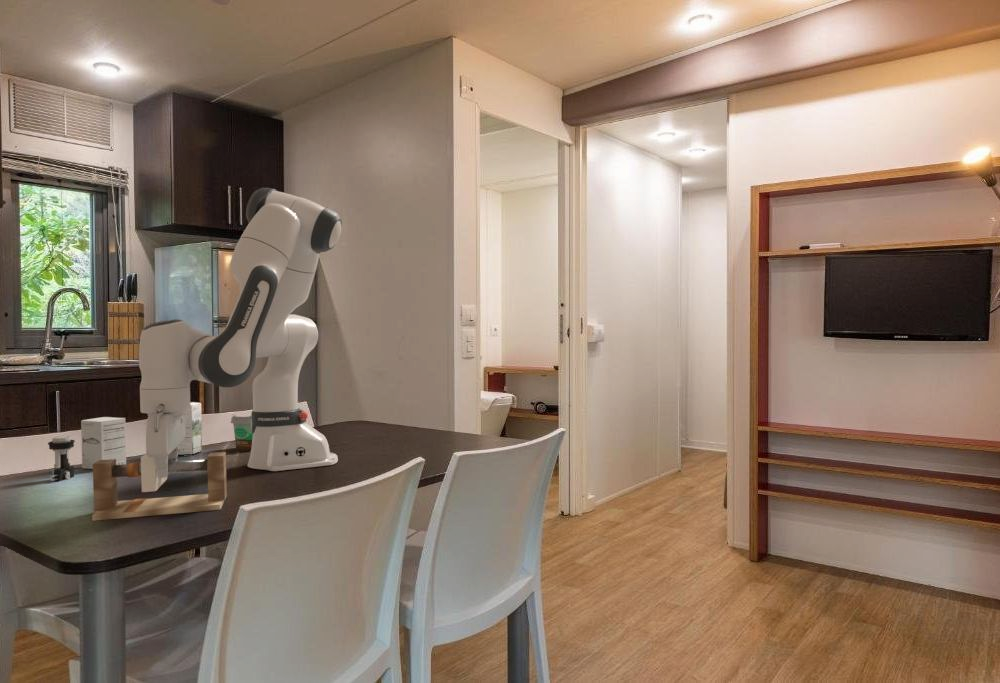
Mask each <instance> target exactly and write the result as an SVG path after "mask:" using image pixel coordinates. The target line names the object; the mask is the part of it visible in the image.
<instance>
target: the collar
mask: <svg viewBox="0 0 1000 683" xmlns="http://www.w3.org/2000/svg"><path fill="white" fill-rule="evenodd" d="M140 463H141V476H140V477H141V478H140V480H141V483H140V484H141V493H149V492H156V491H158V489H159V488H160V487H161V486H162V485H164V483H165V482H166V481H167V480H168V476H167V477H165V478H158V477H157V468H156V465H155V459H154V457H151V458H150V457H148V456H147V453H144V454H143V455H141V456H140Z"/></svg>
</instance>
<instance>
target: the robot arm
mask: <svg viewBox="0 0 1000 683" xmlns="http://www.w3.org/2000/svg"><path fill="white" fill-rule="evenodd" d="M245 216H246V217H245V218H246V220H247V222H248V225H247V226H246V228H245V229H244V230H243V233H242V234H241V236H240V238H239V239H238V241H237V244H236V246H235V248H234V250H233V253H232V256H231V259H230V263H229V268H230V269H229V270H230V272H231V274H232V277H233V278H234V281H236V282H237V283H238V285H239V294H238V298H237V300H236V302H235V304H234V307H233V309H232V311H231V313H230V316H229V319H228V321H227V323H226V326H225V327H224V329H223V330H222V331H221V332H220V333H219V334H216V335H212V334H209V333H206V332H203V331H201V330H198V329H197V328H194V327H193V326H191V325H189V324H188V323H186V322H185V321H184V320H182V319H170V320H161V321H157V322H152V323H149V324H147V325H146V326H145V327H143V329H141V332H140V336H139V337H140V338H139V346H138V347H139V349H138V366H139V367H138V368H139V369H140V373H141V374H140V375H141V381H140V383H139V402H140V403H139V405H140V406H139V407H140V413H141V414H147V416H148V417H147V419H146V426H145V429H146V430H145V431H146V432H145V435H146V437H145V452H146V453H147V456H148V457H150V458H151V457H154V459H155V465H156V468H157V477H158V478H165V477H167V478H168V476H169V475H170V474H169V467H168V461H178V457H179V456H178V449H179V446H178V445H179V444H180V443H181V442H182V441H183V440H184V438H185V432H186V417H187V410H190V402H191V382H192V381H198V382H204V383H206V384H213V385H215V386H218V387H219V388H220V387H222V388H234V387H238V386H239V385H242V384H243V383H244V382H246V381H247V380H248V379H249V378H250V377H251V376H252V373H253V372H254V369H255V366H256V361H257V360H256V358H268V359H267V364H266V365H265V367H264V369H263V370H262V371H261V372H260V373H259V374H257V375H256V377H255V378H254V379H253V382H252V411H251V412H250V413H251V415H250V416H251V430H252V433H253V439H252V448H251V451H250V454H249V458H248V462H247V467H248V468H250V469H254V470H255V469H256V470H264V471H270V472H279V471H287V470H288V471H289V470H297V469H307V468H316V467H324V466H325V467H326V466H332V465H335V464H337V462H338V461H339V458H338V457H339V456H338V455H337V454H336V453H334V452H331V451H330V445H329V443H328V440H327V438H326V436H325V435H324V434H323V433H321V432H320V431H319V430H317V429H315V428H314V427H313V426H312V425H310V424H308V423H307V419H308V418H309V416H308V415H309V414H308V412H307V411H305V410H303V409H301V408H299V406H298V405H299V403H298V401H299V397H298V396H299V394H298V393H299V378H300V372H301V370H302V367H303V365H304V362H305V361H306V358H307V357H308V355H309V354H310V352H312V350H314V349H315V347H316V345H317V343H318V341H319V331H318V327H317V324H316V323H315V322H314V321H313V319H311V318H309V317H306V316H303V315H298V314H291V313H293V312H294V311H295V310H296V309H297V308H299V307H300V306H301V305H303V304H304V303H305V302H306V301H307V300H308V298H309V296H310V292H311V288H312V285H313V282H314V278H315V276H316V271H317V268H318V263H319V260H320V259H319V258H320V254H321V253H326V252H328V251H330V250H333V249H334V247H335V246H336V244H337V242H338V241H339V240H340V237H341V235H342V225H343V224H342V219H341V216H340V215H339V213H337V212H336V211H335V210H333V209H331V208H330V207H324V206H323V205H321V204H319V203H317V202H314V201H312V200H310V199H307V198H305V197H303V196H300V197H299V196H297V195H294V194H290V193H286V192H283V191H279V190H277V189H275V188H270V187H261V188H259V189H257V190H255V191H254V192H253V193H252V194H251V196H250V197H249V199H248V201H247V205H246V209H245ZM146 453H145V454H146Z"/></svg>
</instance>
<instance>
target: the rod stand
mask: <svg viewBox="0 0 1000 683" xmlns="http://www.w3.org/2000/svg"><path fill="white" fill-rule="evenodd" d="M168 467H169V474H168V475H170V474H171V475H172V474H181V473H182V474H183V473H184V474H185V473H194V472H195V473H196V472H207V493H204V494H202V493H201V494H190V495H178V496H167V497H166V496H165V497H154V498H144V497H143V498H135V499H128V500H127V499H126V500H118V478H125V477H126V478H137V477H138V478H139V477H141V461H140V462H128V463H126V464H121V465H116V459H109V460H98V461H97V462H95V463H94V464H93V469H92V484H93V486H92V487H93V488H92V489H93V512H94V513H93V514H92V515H91V516H92V518H91V519H92V521H101V520H102V521H103V520H105V521H106V520H114V519H116V520H117V519H127V518H138V517H151V516H161V515H172V514H185V513H194V512H195V513H197V512H198V513H199V512H208V511H219V510H221V509H222V507H223V505H224V503H225V500H226V498H227V496H228V494H227V493H228V491H227V489H228V485H227V452H226V451H221V452H209V454H208V455H207V456H206V458H201V459H200V458H197V459H185V460H183V459H182V460H177V461H168Z"/></svg>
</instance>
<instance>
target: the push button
mask: <svg viewBox="0 0 1000 683" xmlns="http://www.w3.org/2000/svg"><path fill="white" fill-rule="evenodd" d="M74 443H75V439H71V436H69V435H67V436H65V435H64V436H56V437H52V440H51V441H48V443H47V445H48V449H49V450H52V451H53V452H54V466H53V467H54V469H52V470H51V475H49V477H50V478H51V479H49V481H50V482H51V481H53V482H61V481H65V480H67V479H71V478H74V477H75V468H74V465H71V463H70V453H69V451H70V450H71V449H72V448H74V446H75V444H74Z"/></svg>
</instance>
